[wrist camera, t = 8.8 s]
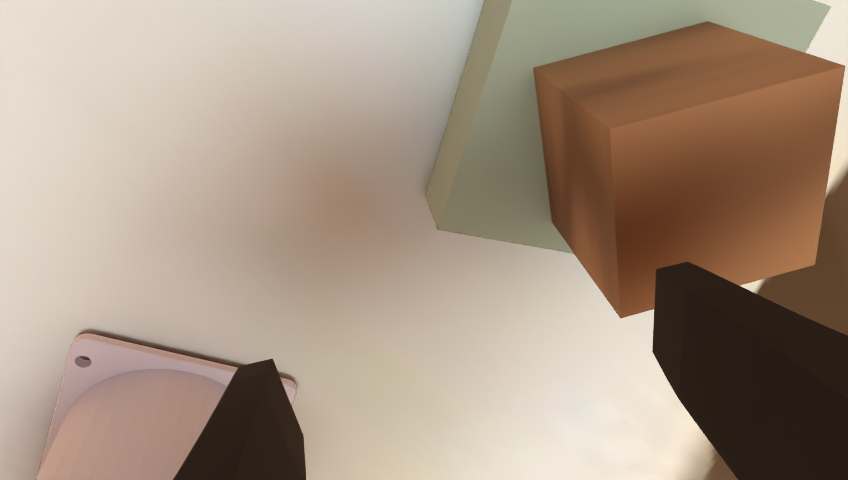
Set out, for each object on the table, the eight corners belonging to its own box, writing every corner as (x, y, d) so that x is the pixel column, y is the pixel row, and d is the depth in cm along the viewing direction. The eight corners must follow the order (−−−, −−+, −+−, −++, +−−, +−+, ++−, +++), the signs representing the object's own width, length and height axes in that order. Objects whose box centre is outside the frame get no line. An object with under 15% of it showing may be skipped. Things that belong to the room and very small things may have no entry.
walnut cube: (703, 181, 19) (814, 264, 15) (551, 222, 19) (620, 318, 15) (708, 21, 16) (845, 65, 12) (532, 67, 16) (609, 129, 12)
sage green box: (642, 230, 23) (682, 272, 21) (422, 188, 21) (437, 229, 18) (762, -9, 19) (831, 6, 17) (508, -96, 17) (543, -94, 14)
